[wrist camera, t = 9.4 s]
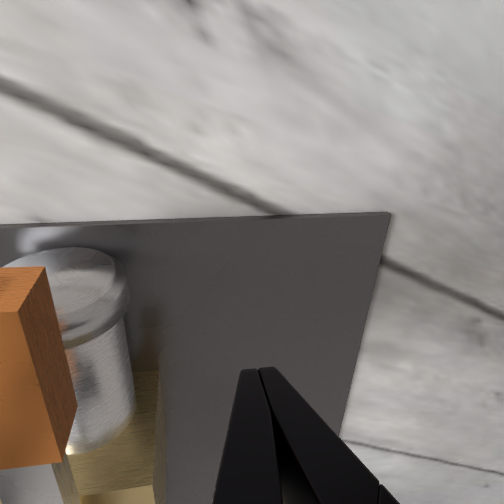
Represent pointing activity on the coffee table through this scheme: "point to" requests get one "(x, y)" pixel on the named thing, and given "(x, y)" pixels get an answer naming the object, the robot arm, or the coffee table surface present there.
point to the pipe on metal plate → (195, 333)
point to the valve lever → (33, 393)
